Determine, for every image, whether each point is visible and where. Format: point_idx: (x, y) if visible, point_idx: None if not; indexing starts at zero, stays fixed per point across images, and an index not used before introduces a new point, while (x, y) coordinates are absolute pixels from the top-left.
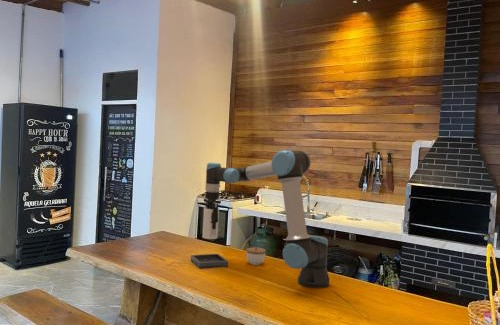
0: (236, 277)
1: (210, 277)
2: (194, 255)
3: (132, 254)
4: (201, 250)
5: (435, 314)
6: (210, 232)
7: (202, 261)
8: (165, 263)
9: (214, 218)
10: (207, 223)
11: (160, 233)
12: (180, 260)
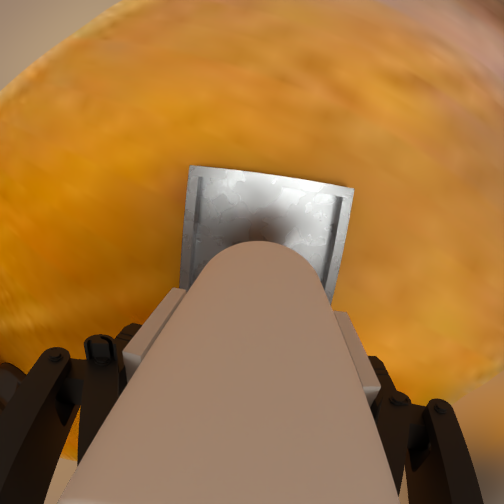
0: (60, 258)
1: (80, 166)
2: (343, 205)
3: (488, 35)
4: (461, 313)
5: None
6: (178, 297)
7: (279, 222)
8: (342, 59)
9: (30, 383)
10: (175, 317)
11: None
12: (369, 143)
